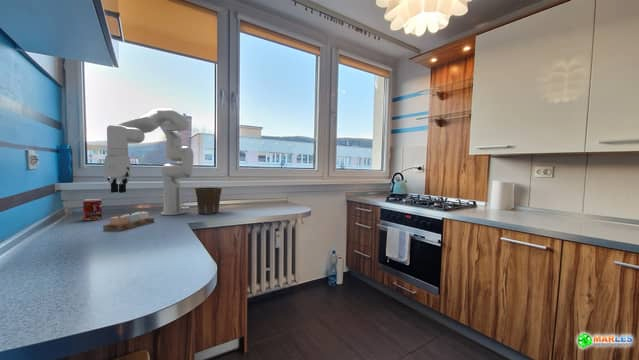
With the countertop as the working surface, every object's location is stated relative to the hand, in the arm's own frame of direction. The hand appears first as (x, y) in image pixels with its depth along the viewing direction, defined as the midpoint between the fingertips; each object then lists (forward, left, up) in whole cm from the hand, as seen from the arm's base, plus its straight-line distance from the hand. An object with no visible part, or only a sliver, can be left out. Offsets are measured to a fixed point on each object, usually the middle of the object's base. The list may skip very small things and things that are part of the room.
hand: (118, 192), depth 119 cm
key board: (-4, -5, -17) cm, 18 cm away
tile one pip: (-8, -10, -15) cm, 20 cm away
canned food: (+14, -35, -17) cm, 42 cm away
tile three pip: (0, 0, -15) cm, 15 cm away
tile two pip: (-4, -5, -15) cm, 17 cm away
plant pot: (-44, -27, -17) cm, 54 cm away
